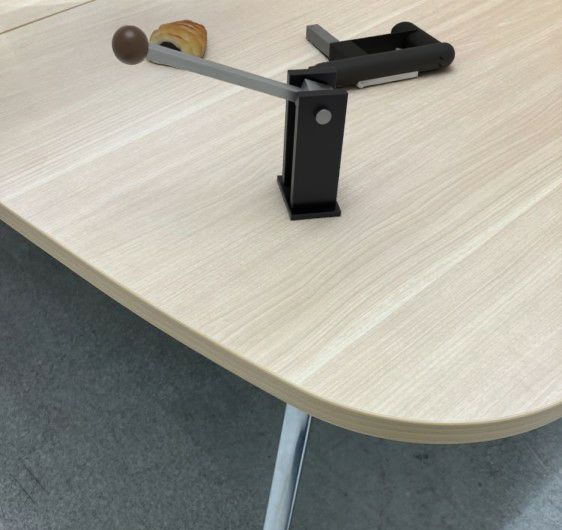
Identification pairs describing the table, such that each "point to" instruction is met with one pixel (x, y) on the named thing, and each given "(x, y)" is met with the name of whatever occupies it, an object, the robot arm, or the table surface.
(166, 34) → the pastry
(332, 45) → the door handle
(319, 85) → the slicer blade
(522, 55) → the table surface
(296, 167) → the black lever stand
